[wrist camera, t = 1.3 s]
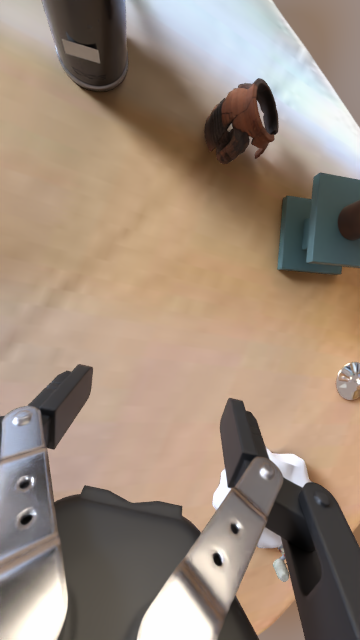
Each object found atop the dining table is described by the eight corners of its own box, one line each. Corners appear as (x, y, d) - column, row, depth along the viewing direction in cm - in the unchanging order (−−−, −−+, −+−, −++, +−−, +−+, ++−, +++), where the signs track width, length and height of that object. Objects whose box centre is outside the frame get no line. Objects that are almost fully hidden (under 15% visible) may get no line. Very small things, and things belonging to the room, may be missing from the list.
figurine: (331, 472, 44) (433, 568, 27) (283, 556, 43) (358, 702, 27) (245, 424, 42) (300, 497, 25) (194, 512, 41) (218, 641, 25)
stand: (282, 198, 39) (320, 172, 31) (342, 207, 41) (390, 185, 33) (277, 269, 40) (312, 261, 32) (335, 274, 42) (381, 268, 34)
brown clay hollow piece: (210, 97, 36) (259, 51, 29) (241, 148, 41) (287, 120, 35) (187, 153, 33) (236, 115, 26) (224, 200, 38) (271, 178, 32)
